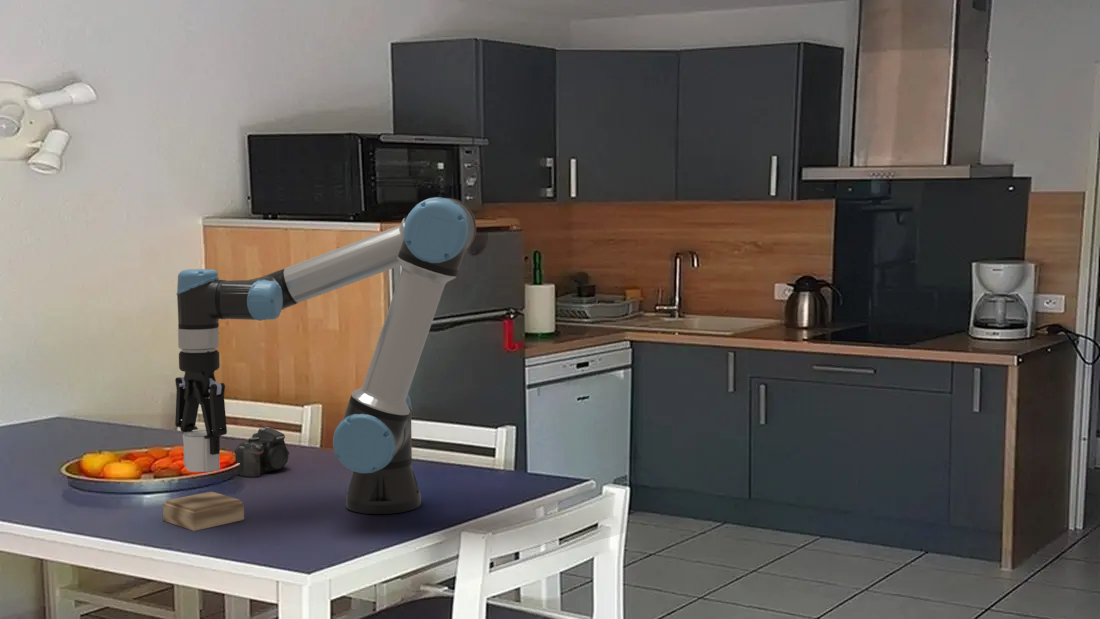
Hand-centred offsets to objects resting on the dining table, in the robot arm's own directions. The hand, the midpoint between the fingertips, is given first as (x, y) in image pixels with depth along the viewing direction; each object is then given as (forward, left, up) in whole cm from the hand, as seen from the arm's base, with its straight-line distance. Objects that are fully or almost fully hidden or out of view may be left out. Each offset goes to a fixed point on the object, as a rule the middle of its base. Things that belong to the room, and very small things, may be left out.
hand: (201, 467), depth 246 cm
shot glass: (0, 0, 0) cm, 0 cm away
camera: (+27, -33, -11) cm, 44 cm away
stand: (0, 0, -10) cm, 10 cm away
